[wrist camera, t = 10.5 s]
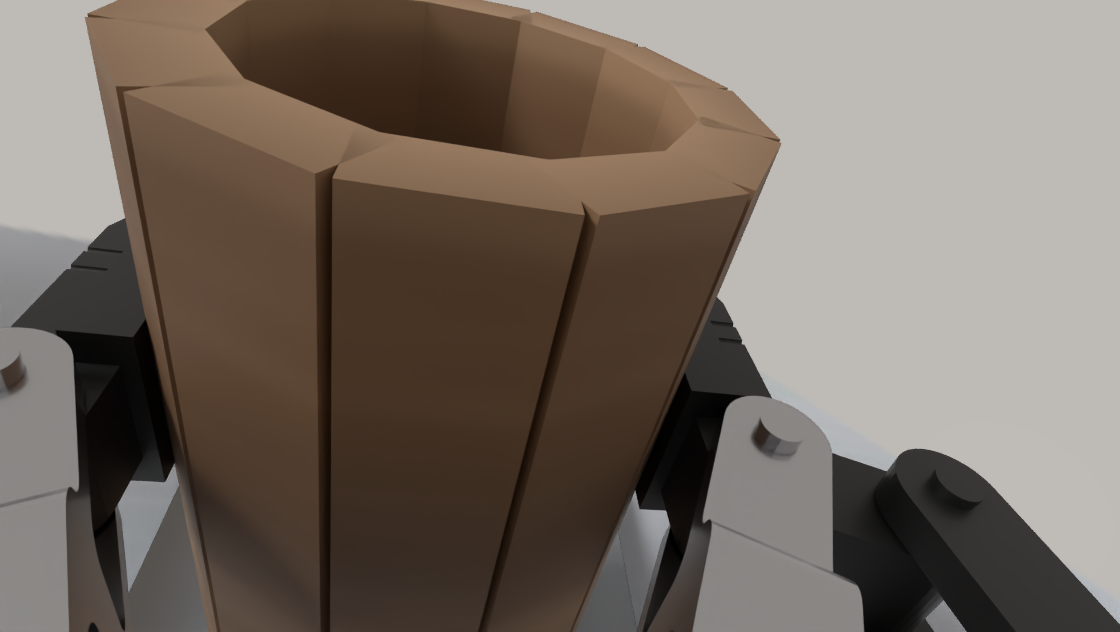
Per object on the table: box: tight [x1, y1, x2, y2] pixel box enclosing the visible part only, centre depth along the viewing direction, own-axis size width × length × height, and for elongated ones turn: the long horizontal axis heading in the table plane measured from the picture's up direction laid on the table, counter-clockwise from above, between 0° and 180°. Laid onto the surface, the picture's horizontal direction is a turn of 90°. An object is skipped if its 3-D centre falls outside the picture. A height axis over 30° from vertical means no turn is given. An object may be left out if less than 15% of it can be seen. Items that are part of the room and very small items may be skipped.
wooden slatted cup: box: [85, 0, 781, 632], centre depth 9 cm, size 6×6×10 cm
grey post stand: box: [129, 487, 637, 632], centre depth 11 cm, size 11×11×11 cm
